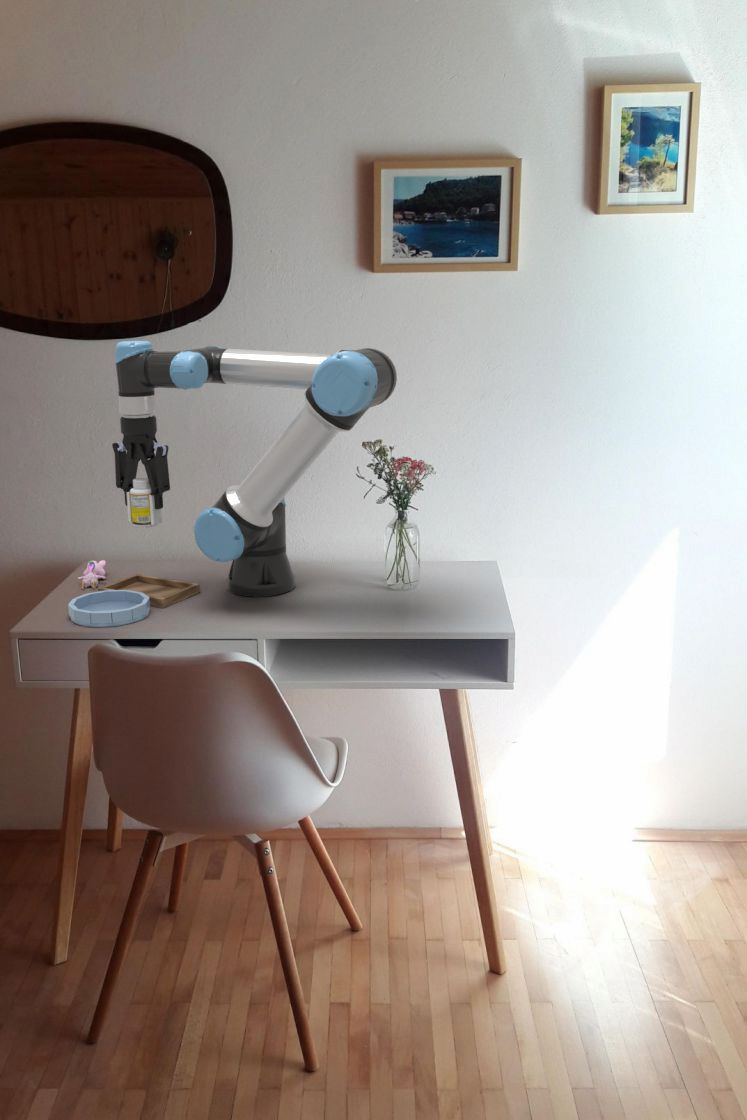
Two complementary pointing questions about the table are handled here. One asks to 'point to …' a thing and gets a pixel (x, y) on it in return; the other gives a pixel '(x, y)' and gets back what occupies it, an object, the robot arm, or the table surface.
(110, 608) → the bowl
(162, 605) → the tray
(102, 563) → the rabbit figure
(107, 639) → the table surface
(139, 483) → the supplement bottle
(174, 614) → the table surface
